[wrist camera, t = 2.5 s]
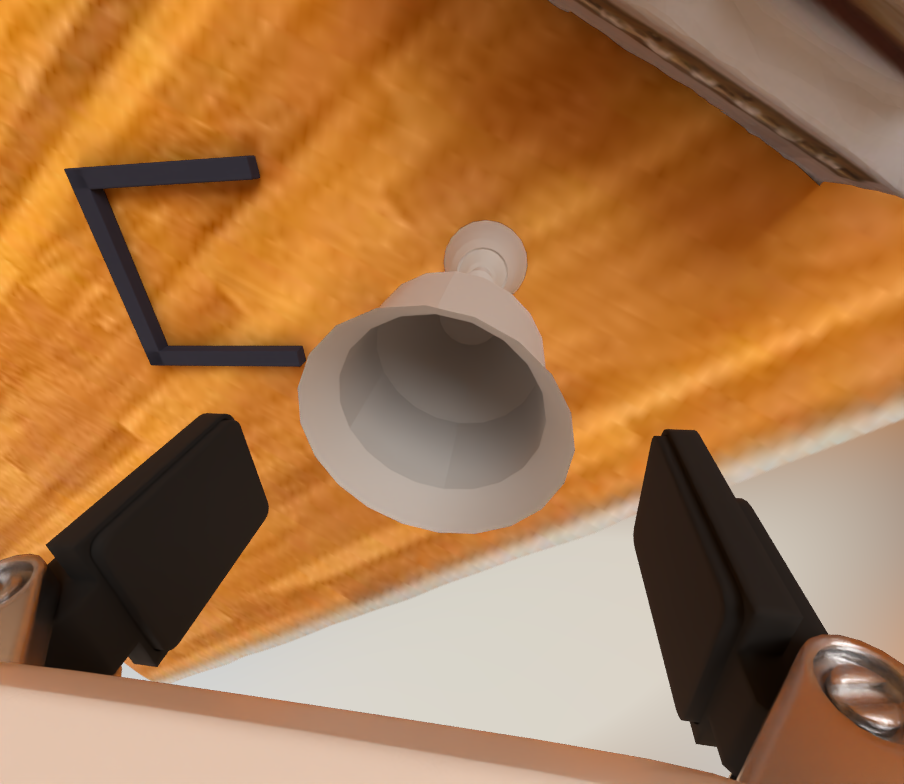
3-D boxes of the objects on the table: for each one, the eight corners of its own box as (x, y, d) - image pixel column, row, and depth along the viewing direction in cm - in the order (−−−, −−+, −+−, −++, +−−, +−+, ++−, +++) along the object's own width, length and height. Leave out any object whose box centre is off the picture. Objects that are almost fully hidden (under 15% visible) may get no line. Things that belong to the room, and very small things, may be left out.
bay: (160, 359, 34) (150, 365, 33) (77, 167, 27) (63, 168, 26) (306, 360, 32) (300, 366, 31) (255, 155, 25) (246, 155, 25)
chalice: (405, 271, 28) (257, 439, 12) (470, 174, 24) (379, 236, 9) (497, 339, 29) (467, 567, 14) (569, 256, 26) (638, 432, 10)
